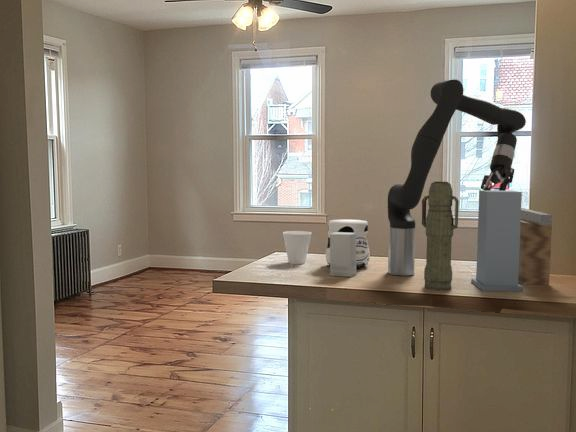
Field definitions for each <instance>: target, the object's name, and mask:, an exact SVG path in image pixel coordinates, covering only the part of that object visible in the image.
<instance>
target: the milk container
mask: <svg viewBox="0 0 576 432" xmlns="http://www.w3.org/2000/svg"><path fill="white" fill-rule="evenodd" d="M334 232H348V233H356V269H357V268H362V267H363V268H364V267H365V266H367V265H368V264H369V262H370V256H371V253H370V248H369V242H368V237H369V236H368V235H369V224H368V221H367V220H363V219H362V220H361V219H346V218H345V219H344V218H343V219H331V220H329V221H328V224H327V235H328V236H327V245H326V250H325V261H326V263H327V265H329V266H330V234H332V233H334Z"/></svg>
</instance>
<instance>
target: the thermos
mask: <svg viewBox="0 0 576 432" xmlns="http://www.w3.org/2000/svg"><path fill="white" fill-rule="evenodd" d="M429 186H430V187H428V195H424V196H423V198H422V199H421V225H422V227H424V228H425V236H426V257H425V258H426V261H425V262H426V263H425V264H426V265H425V267H424V271H423V273H424V276H423V277H424V279H423V280H424V288H425V289H428V290H433V291H446V290H451V289H452V281H453V268H452V264H451V263H452V240H453V239H452V238H453V236H454V230H455V229H458V227H459V226H458V225H459V224H458V223H459V206H460V205H459V203H460V202H459V201H460V200H459V199H458V197H457V196H455V195H453V187H452V185H451V183H450V182H448V181H433V182H431V183H430V185H429ZM453 200H454V201H455V204H454V205H455V206H454V207H455V209H454V216H453V210H452V207H453ZM427 201H428V204H427ZM427 205H428V209H427Z"/></svg>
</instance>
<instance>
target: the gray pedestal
mask: <svg viewBox="0 0 576 432" xmlns="http://www.w3.org/2000/svg"><path fill="white" fill-rule="evenodd" d="M478 191H479V192H478V211H477V212H478V213H477V214H478V217H477V220H478V221H477V244H476V245H477V247H476V270H475V271H476V272H475V273H476V274H475V278H473V277H471V284H473V285H474V286H475V287H476V288H478V289H479V290H480V291H482V292H524V286H523V285H521V284H519V282H518V272H519V248H520V224H521V208H522V196H523V194H522V193H523V192H522V191H518V190H505V191H499V190H495V189H494V190H492V189H491V190H483V189H481V190H480V189H479V190H478Z"/></svg>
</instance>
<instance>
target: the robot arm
mask: <svg viewBox="0 0 576 432" xmlns="http://www.w3.org/2000/svg"><path fill="white" fill-rule="evenodd" d="M430 98H431V100H432V102H433V104H436V106H435V109H434V110H433V112H432V114H431V115H430V116H429V118H428V119H427V120H426V121H425V123H424V124H423V125H422V126H421V128H420V129H419V130H418V132H417V135H416V137H415V138H414V139H415V140H414V141H413V143H412V146H411V153H410V169H409V172H408V175H407V177H406V180H405V181H404V183H396V184H394V185H392V186H391V187H390V188H389V191H388V193H387V218H388V221H389V246H388V253H387V254H388V255H387V256H388V257H387V258H388V259H387V264H388V265H387V268H388V269H387V272H388V274H389V275H392V276H394V275H395V276H412V275H415V254H416V251H415V249H416V248H415V247H416V220H415V219H414V218H413V217H412V215H411V210H413V209H415V208H416V207H417V206H418V204H419V203H420V201H421V198H422V195H423V191H424V188H425V184H426V181H427V178H428V176H429V173H430V171H431V168H432V166H433V163H434V161H435V158H436V156H437V154H438V151H439V149H440V146H441V144H442V143H443V142H442V141H443V139H444V136H445V134H446V131H447V130H448V126H449V124H450V123H451V120H452V118H453V115H455V112H456V111H459V112H462V113H465V114H467V115H470V116H472V117H473V118H474V117H475V118H477V119H479V120H482V121H483V122H485V123H488V124H489V125H494V126H495V125H497V128H496V130H497V133H496V134H497V140H496V144H495V148H494V150H493V153H492V156H491V161H490V164H489V169H490V173H489V175H486V174H484V175H483V179H482V183H481V185H480V189H481V190H492V189H493V188H495V186H496V185H497V184H499V188H498V191H507V186H509V184H511V183H513V179H514V175H515V168H513V167H512V166H513V162H514V157H515V151H516V150H515V149H516V147H517V141H518V139H517V137H516V135H515V134H514V133H515V132H517V131H520V130H522V129H523V128H524V127H525V126H526V123H527V120H526V117H525V116H524V114H523V113H521V112H519V111H518V110H515V109H509V108H506V107H505V108H503V107H499V106H498V105H496V104H493V103H491V102H489V101H487V100H483V99H479V98H476V97H471V96H467V95H465V94H464V85H463V83H462V81H460V80H459V79H456V78H450V79H445V80H441V81H437V83H435V84H433V85H432V87H431V89H430Z"/></svg>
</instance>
